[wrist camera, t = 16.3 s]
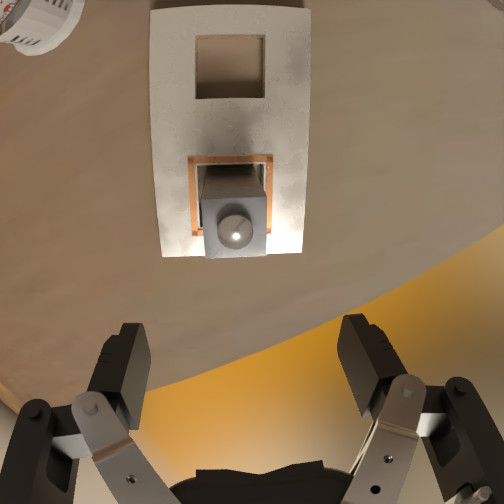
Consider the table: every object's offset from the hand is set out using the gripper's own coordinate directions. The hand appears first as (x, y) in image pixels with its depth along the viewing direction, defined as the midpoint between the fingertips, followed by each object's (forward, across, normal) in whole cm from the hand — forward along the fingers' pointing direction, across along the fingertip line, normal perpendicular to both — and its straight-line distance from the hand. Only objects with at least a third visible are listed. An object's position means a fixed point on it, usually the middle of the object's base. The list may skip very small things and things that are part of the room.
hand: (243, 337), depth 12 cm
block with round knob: (+21, 0, 0) cm, 21 cm away
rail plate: (+21, 0, -6) cm, 22 cm away
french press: (+21, +20, -22) cm, 37 cm away
